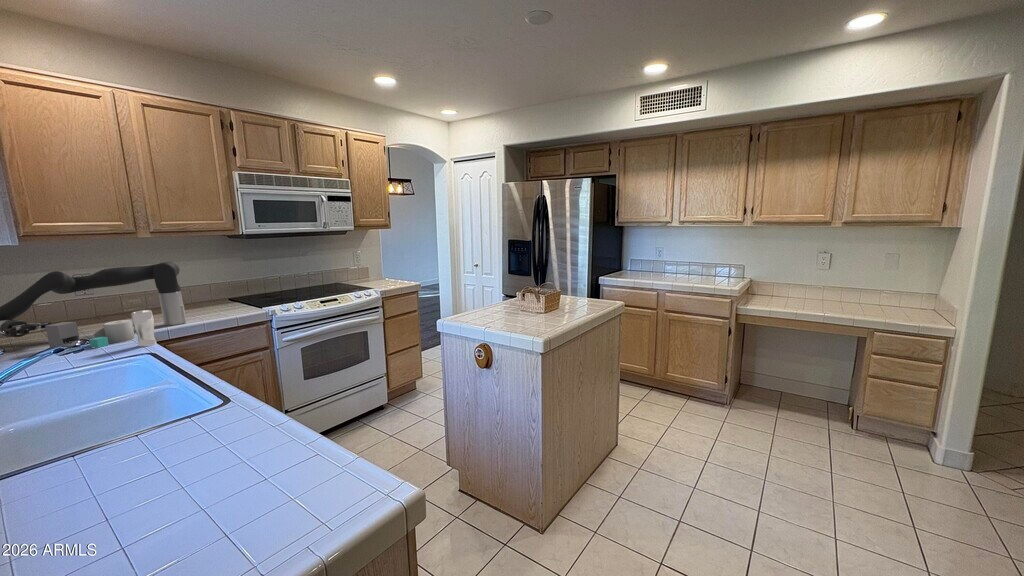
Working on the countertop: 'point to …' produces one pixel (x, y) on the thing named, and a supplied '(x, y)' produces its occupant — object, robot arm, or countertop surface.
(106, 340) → the block
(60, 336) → the cover
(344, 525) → the countertop surface
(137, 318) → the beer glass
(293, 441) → the countertop surface
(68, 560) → the countertop surface
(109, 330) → the toilet tissue
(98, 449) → the countertop surface
